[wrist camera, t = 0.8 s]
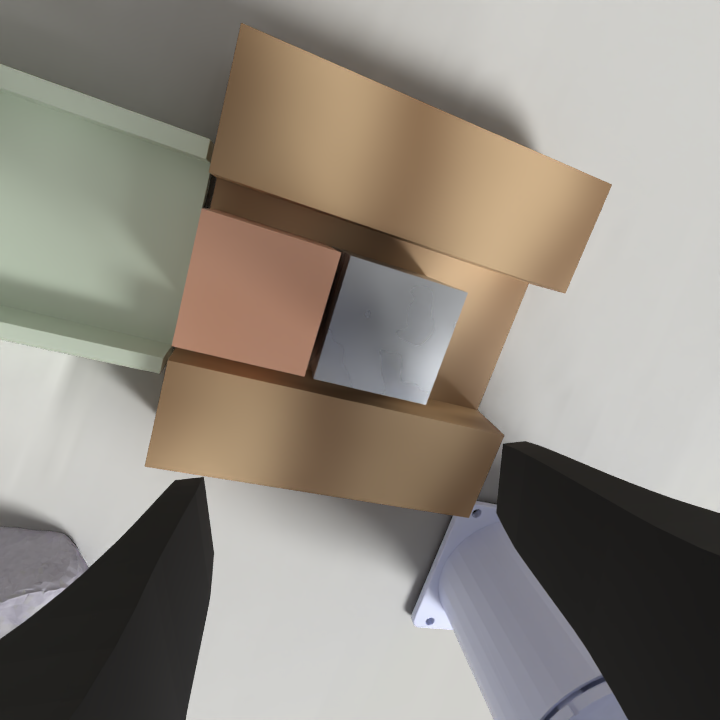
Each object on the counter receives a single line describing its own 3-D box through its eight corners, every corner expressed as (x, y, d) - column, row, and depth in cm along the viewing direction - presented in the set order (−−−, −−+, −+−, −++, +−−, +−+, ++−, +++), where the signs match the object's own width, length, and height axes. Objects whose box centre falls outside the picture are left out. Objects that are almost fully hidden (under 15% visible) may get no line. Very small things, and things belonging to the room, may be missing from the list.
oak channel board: (552, 189, 19) (611, 184, 16) (439, 473, 23) (468, 518, 19) (245, 61, 16) (241, 22, 12) (165, 422, 19) (144, 466, 16)
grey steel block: (426, 276, 18) (467, 292, 15) (394, 367, 19) (425, 404, 15) (332, 245, 17) (351, 255, 13) (303, 344, 18) (313, 378, 14)
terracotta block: (324, 243, 17) (341, 252, 13) (295, 342, 18) (304, 376, 14) (216, 208, 16) (201, 208, 12) (192, 316, 17) (171, 345, 13)
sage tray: (217, 148, 16) (210, 139, 14) (172, 354, 18) (159, 373, 16) (-88, 40, 14) (-153, 8, 12) (-104, 292, 16) (-161, 305, 14)
